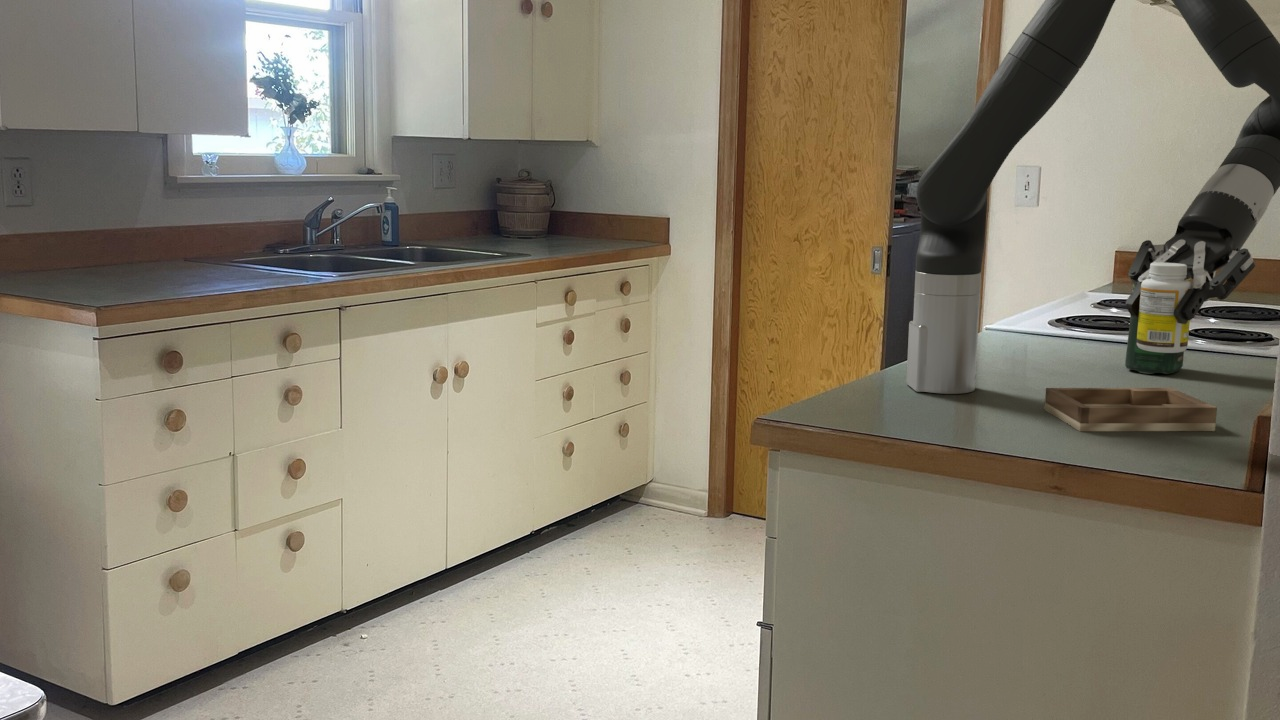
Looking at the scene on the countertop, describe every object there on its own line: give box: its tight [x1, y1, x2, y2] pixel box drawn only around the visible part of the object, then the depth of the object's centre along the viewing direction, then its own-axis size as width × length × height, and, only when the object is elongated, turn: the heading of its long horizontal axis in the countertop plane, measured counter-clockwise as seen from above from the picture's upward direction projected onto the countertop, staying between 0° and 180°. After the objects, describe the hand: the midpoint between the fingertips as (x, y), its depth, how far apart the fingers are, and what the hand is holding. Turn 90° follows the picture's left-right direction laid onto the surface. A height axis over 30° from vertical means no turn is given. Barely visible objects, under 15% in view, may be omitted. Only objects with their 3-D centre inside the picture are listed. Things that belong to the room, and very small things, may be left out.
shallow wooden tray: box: [1044, 387, 1218, 432], centre depth 147 cm, size 17×12×3 cm
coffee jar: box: [1124, 277, 1192, 375], centre depth 179 cm, size 10×8×19 cm
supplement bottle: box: [1137, 262, 1193, 353], centre depth 133 cm, size 6×6×10 cm
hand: (1155, 315), depth 133 cm, fingers closed on supplement bottle, 5 cm apart
